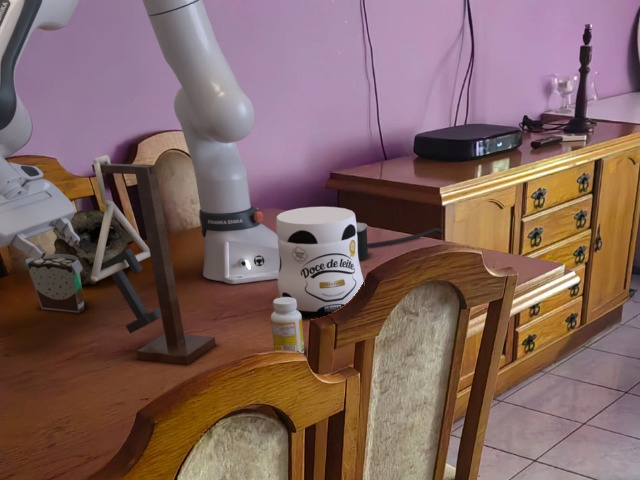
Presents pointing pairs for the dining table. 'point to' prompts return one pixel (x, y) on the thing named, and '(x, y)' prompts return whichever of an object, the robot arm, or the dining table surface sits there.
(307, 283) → the milk container
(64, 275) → the food container
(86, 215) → the hollow geode rock
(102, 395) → the dining table surface
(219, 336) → the dining table surface
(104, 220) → the hanger stand
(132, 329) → the black hanger
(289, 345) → the supplement bottle
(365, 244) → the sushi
